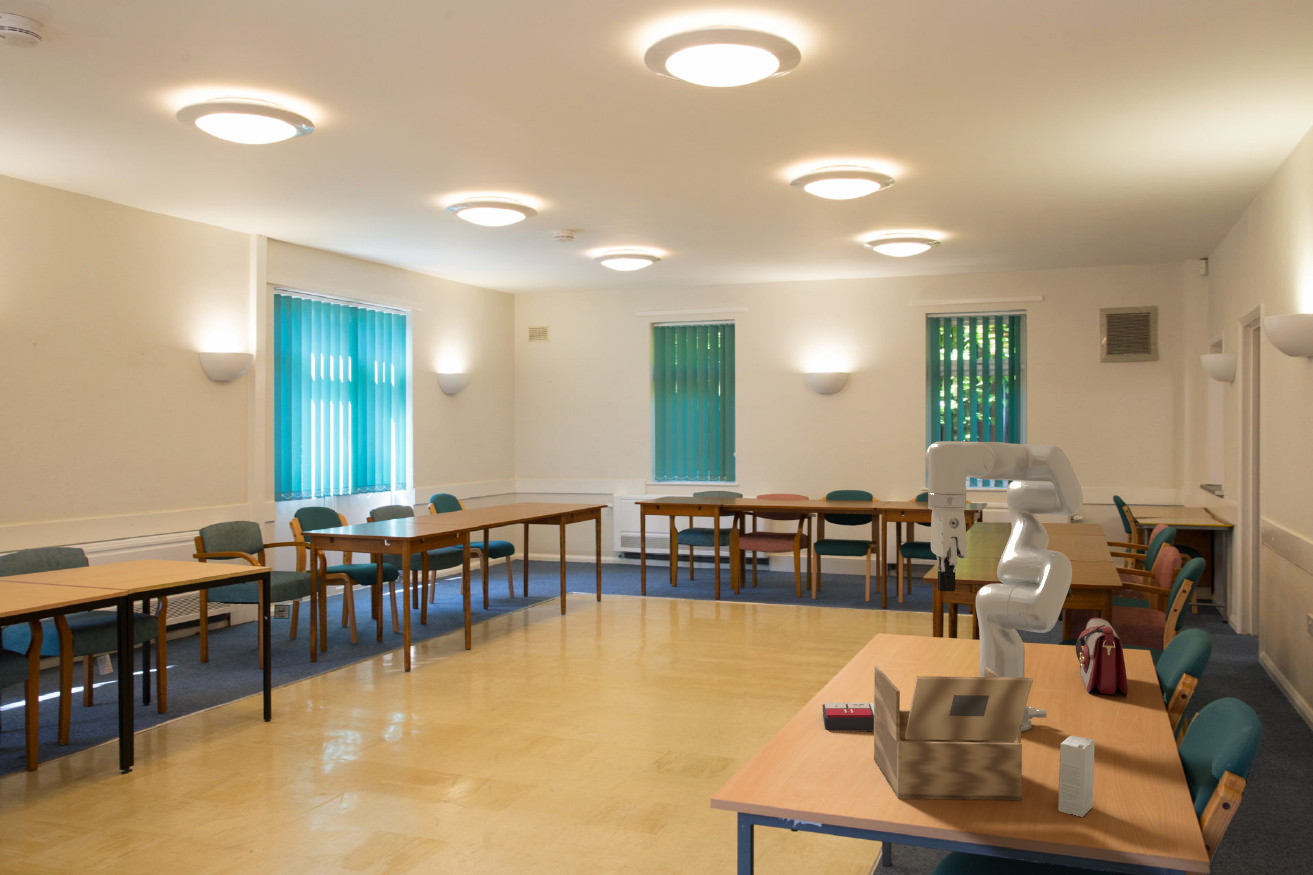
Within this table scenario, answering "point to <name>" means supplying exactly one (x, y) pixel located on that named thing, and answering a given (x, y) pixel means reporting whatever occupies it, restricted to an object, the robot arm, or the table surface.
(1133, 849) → the table surface
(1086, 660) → the handbag
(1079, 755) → the skincare box
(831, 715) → the calculator
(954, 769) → the carton
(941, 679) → the carton flap
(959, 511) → the robot arm
